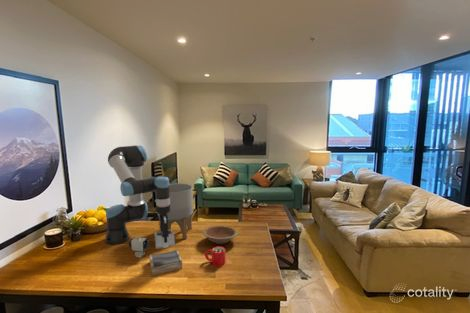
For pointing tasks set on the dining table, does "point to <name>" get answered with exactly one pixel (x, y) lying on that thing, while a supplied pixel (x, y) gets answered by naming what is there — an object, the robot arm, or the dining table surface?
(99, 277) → the dining table surface
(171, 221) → the planter
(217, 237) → the bowl
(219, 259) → the mug
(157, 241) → the housing
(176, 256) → the stand
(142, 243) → the pneumatic valve
